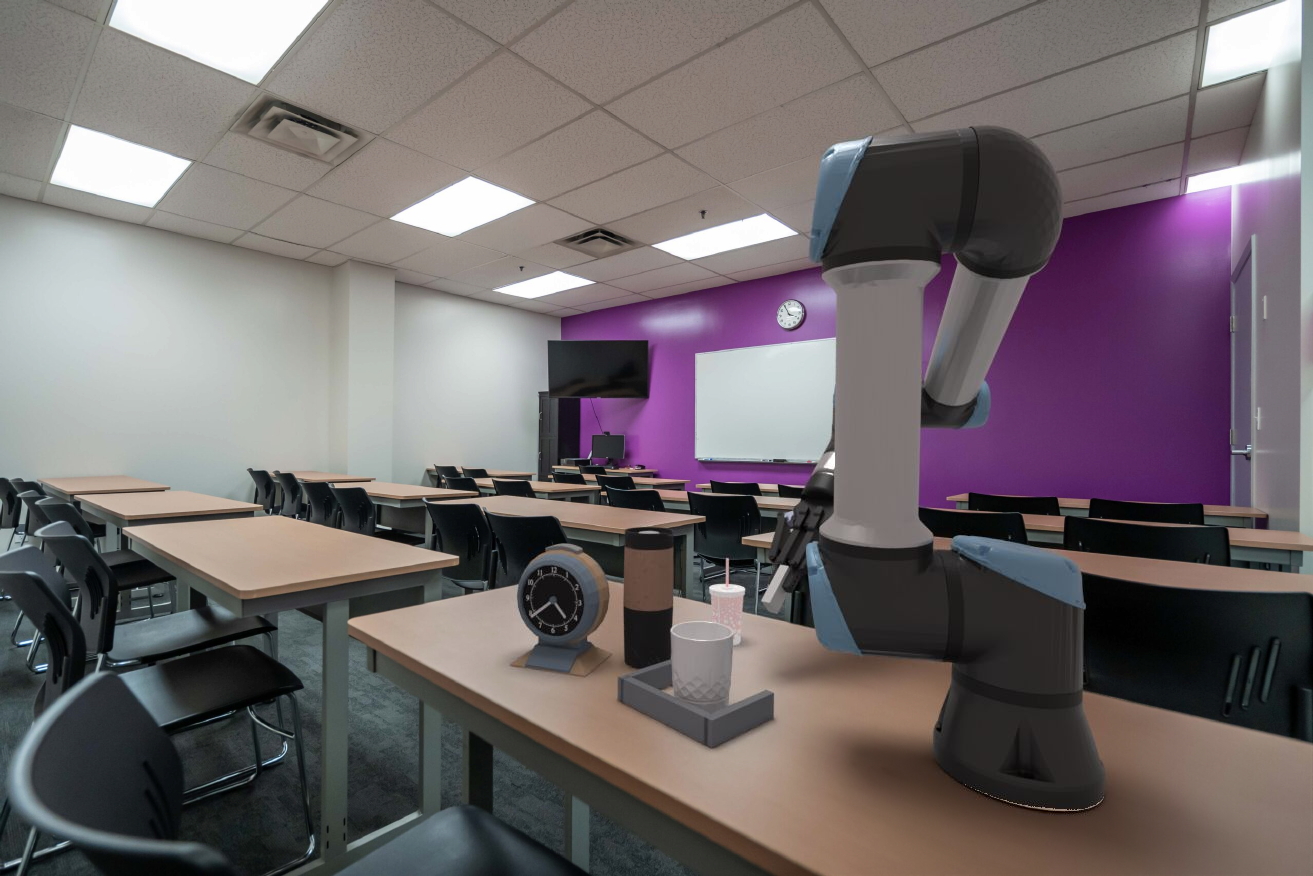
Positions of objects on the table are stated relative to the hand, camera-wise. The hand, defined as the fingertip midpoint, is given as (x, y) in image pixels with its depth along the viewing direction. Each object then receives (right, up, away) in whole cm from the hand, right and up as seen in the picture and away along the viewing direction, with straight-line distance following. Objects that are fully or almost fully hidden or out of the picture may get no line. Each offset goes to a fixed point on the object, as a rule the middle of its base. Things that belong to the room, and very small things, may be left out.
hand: (769, 607), depth 85 cm
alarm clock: (-31, -10, +6) cm, 33 cm away
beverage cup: (-4, -10, +15) cm, 19 cm away
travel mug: (-18, -10, +6) cm, 21 cm away
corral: (-12, -10, -11) cm, 18 cm away
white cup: (-11, -10, -11) cm, 18 cm away
